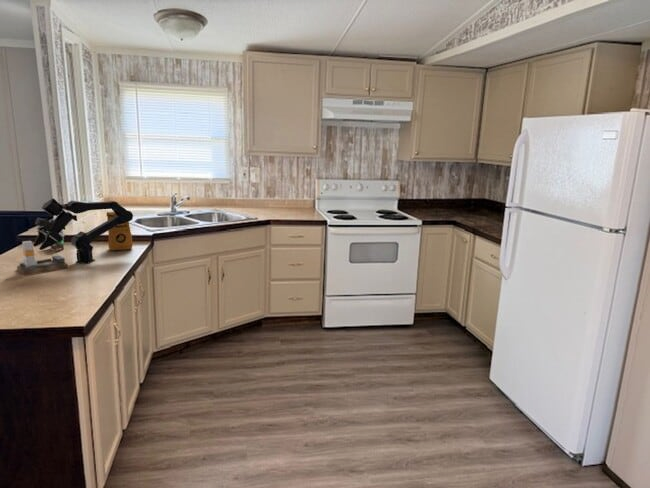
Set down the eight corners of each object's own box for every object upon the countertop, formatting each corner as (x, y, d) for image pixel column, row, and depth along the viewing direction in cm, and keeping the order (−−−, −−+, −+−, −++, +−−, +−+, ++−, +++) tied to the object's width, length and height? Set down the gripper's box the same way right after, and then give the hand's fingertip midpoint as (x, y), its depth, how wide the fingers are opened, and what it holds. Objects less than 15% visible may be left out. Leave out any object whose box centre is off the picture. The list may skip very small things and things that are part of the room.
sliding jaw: (32, 264, 210) (29, 239, 207) (37, 267, 205) (34, 242, 202) (23, 265, 207) (19, 241, 205) (27, 269, 202) (24, 243, 200)
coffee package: (133, 250, 249) (130, 212, 244) (109, 252, 244) (105, 213, 239) (132, 246, 258) (129, 209, 253) (108, 248, 252) (105, 210, 247)
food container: (69, 250, 245) (67, 233, 243) (57, 252, 241) (55, 234, 238) (62, 246, 253) (60, 229, 251) (50, 248, 249) (48, 230, 247)
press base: (59, 262, 221) (58, 254, 220) (68, 267, 213) (67, 259, 212) (17, 269, 208) (16, 260, 207) (24, 275, 200) (23, 265, 199)
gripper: (39, 209, 213) (15, 234, 208) (52, 214, 201) (27, 241, 195) (59, 223, 221) (36, 248, 215) (72, 229, 208) (49, 255, 203)
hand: (37, 247), depth 207 cm, fingers open, 9 cm apart
